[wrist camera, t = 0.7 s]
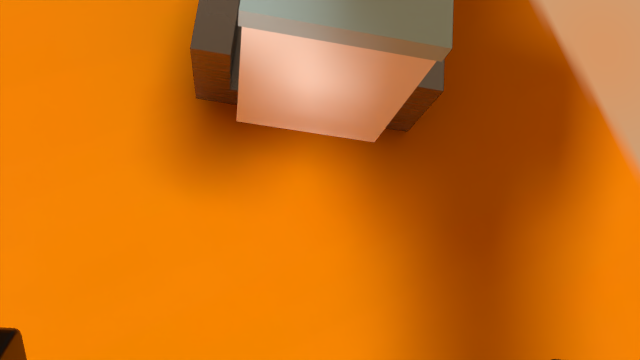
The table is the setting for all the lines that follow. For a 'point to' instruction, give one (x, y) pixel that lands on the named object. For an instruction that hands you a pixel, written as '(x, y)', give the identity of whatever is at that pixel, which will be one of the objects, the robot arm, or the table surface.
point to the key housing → (224, 60)
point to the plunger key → (336, 61)
